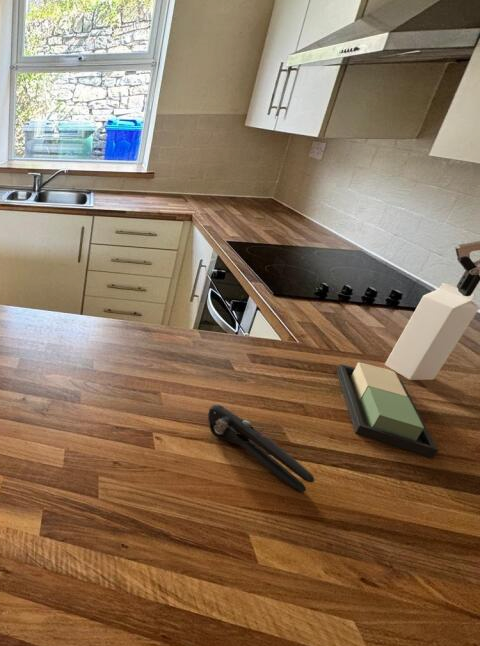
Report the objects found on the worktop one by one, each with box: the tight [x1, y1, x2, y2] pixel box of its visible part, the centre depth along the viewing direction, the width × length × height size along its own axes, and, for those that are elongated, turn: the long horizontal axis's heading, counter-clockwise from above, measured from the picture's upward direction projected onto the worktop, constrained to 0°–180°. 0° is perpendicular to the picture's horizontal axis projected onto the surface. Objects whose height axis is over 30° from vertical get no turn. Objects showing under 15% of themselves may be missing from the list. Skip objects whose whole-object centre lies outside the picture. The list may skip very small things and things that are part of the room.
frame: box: [336, 363, 439, 459], centre depth 83 cm, size 11×24×2 cm, turn 147°
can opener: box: [207, 404, 315, 493], centre depth 70 cm, size 18×7×6 cm, turn 23°
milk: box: [384, 282, 480, 381], centre depth 90 cm, size 6×6×22 cm
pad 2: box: [360, 387, 424, 441], centre depth 78 cm, size 6×10×4 cm, turn 147°
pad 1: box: [351, 361, 407, 401], centre depth 86 cm, size 6×10×4 cm, turn 147°
